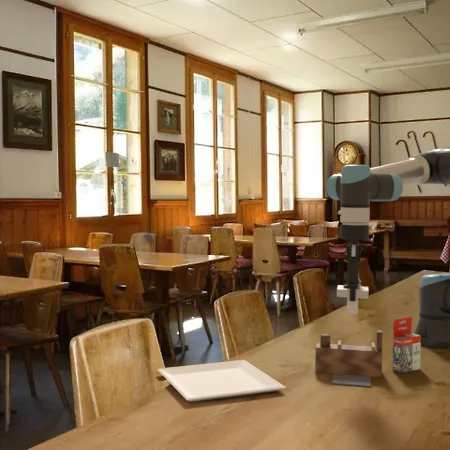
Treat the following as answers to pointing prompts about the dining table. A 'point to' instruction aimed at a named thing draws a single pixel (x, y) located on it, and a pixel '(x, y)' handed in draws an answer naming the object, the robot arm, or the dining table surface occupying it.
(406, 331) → the ink box
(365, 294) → the lever cap
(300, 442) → the dining table surface
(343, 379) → the rubber mat
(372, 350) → the body
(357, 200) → the robot arm
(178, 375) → the plate
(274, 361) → the dining table surface
